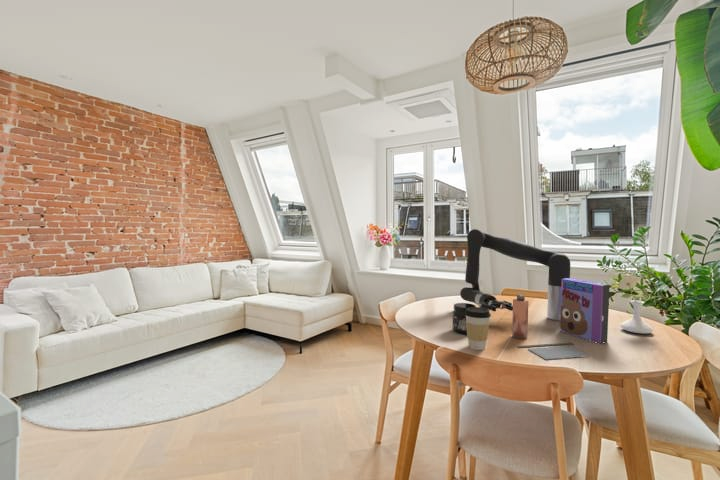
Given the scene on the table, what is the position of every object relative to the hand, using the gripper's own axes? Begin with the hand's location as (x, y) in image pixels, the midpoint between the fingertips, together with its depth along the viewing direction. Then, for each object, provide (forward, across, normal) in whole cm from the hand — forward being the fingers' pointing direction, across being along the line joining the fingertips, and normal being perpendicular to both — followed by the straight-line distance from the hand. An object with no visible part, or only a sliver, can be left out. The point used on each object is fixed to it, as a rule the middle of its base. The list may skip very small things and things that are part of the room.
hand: (503, 309), depth 161 cm
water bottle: (+12, 0, +9) cm, 15 cm away
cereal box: (+16, +27, +9) cm, 33 cm away
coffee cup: (+20, -24, +9) cm, 33 cm away
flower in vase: (+14, +55, +9) cm, 58 cm away
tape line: (+23, +4, +9) cm, 25 cm away
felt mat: (+31, +3, +9) cm, 33 cm away
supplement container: (+1, -20, +9) cm, 22 cm away
